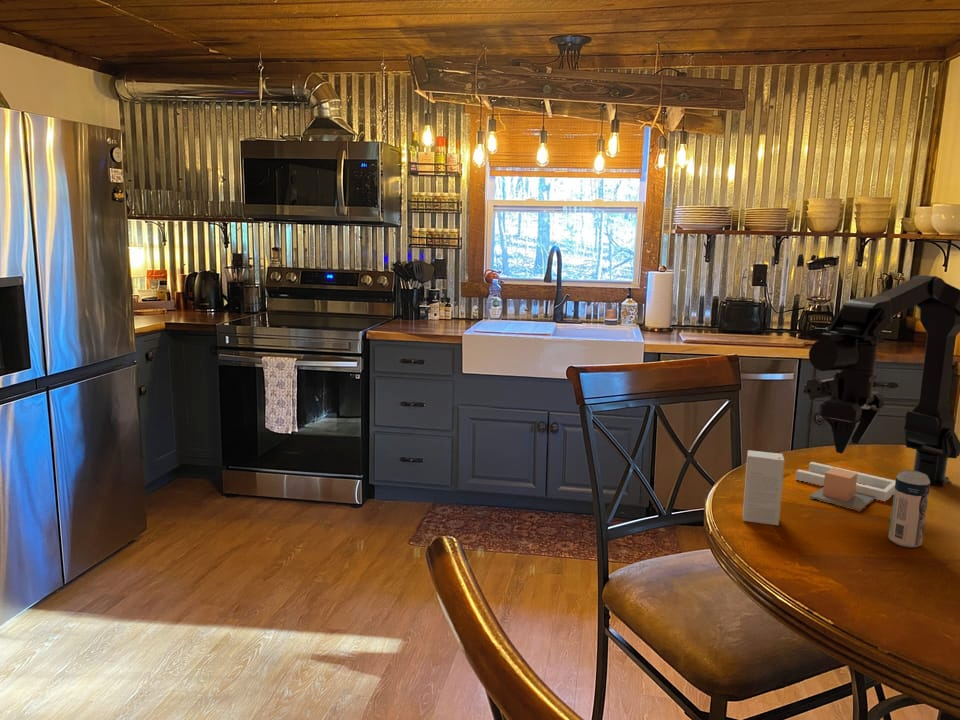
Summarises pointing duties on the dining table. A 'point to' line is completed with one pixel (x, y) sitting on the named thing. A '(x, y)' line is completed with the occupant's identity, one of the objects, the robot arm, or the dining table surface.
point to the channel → (872, 487)
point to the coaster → (855, 502)
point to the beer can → (909, 508)
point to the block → (840, 484)
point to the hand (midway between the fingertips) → (847, 448)
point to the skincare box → (763, 487)
